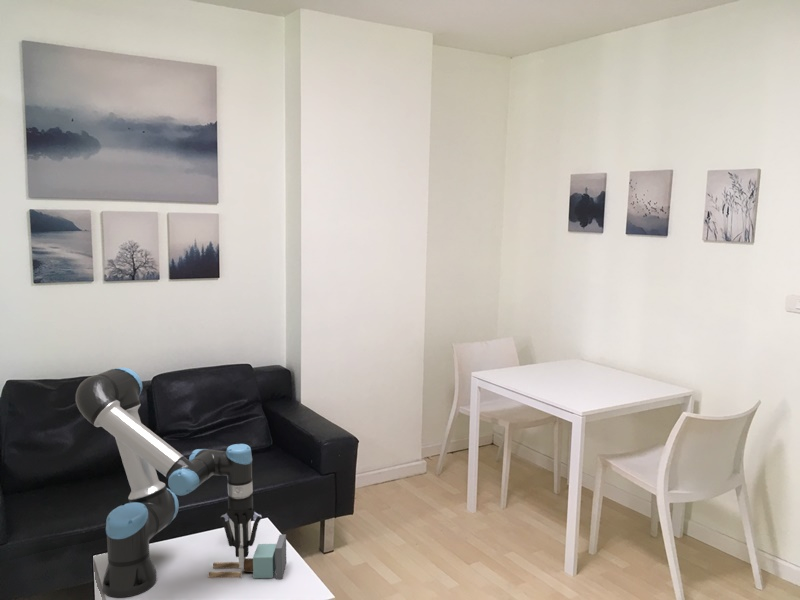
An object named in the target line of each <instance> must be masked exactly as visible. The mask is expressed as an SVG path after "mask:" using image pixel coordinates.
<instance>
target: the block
mask: <svg viewBox="0 0 800 600" xmlns="http://www.w3.org/2000/svg"><path fill="white" fill-rule="evenodd" d="M276 544H277V543H258V544H257V546H256V548H255V551H254V552H253V553H254V554H253V556H252V558H253V572H252V576H253V579H273V578H274V576H275V573H276V565H275V547H276Z"/></svg>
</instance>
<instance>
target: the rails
mask: <svg viewBox="0 0 800 600" xmlns="http://www.w3.org/2000/svg"><path fill="white" fill-rule="evenodd" d="M212 565H213V566H212V567H213V569H240V568H239V561H233V562H232V561H231V562H229V561H227V562H223V561H222V562H218V561H217V562H213V563H212ZM207 575H208V579H211V578H212V579H214V578H216V579H217V578H220V579H221V578H222V579H223V578H224V579H225V578H242V571H239V570H238V571H208V574H207Z"/></svg>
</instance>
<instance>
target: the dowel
mask: <svg viewBox="0 0 800 600" xmlns="http://www.w3.org/2000/svg"><path fill="white" fill-rule="evenodd" d="M243 572H244V573H253V557H251V558H247V557H246V558H245V561H244V568H243Z"/></svg>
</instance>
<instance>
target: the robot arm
mask: <svg viewBox="0 0 800 600" xmlns="http://www.w3.org/2000/svg"><path fill="white" fill-rule="evenodd" d="M142 391H143V381H142V379H141V377H140V376H139V374H137V373H136V372H135V371H134V370H132V369H130V368H128V367H117V368H112V369H109V370H106V371H104V372H100V373H98V374H96V375H92V376H89V377H87V378H85V379H84V380H83V381H82V382H80V384H79V385H78V387H77V389H76V392H75V403H76V407H77V409H78V410H79V412H80V414H81V415H82V416H83V418H85V419H86V420H87V422H89V423H90V424H92V425H93V427H96V428H100V427H101V428H102V429H104V430H105V431H107V432H108V433H109V434H110V435H111V436H113V437H114V438H115V442H116V445H117V449H118V451H119V455H120V457H121V461H122V465H123V468H124V471H125V474H126V477H127V480H128V484H129V486H130V490H131V491H130V493H129V495H128V503H125V504H124V505H122V504H121V505H119V506H116V508H114V509H112V510H111V511H110V512H109V513H108V515H107V517H106V521H105V522H106V523H105V524H106V525H105V534H106V544H107V545H106V546H107V547H106V548H107V549H106V550H107V562H108V563H107V566H106V570H105V573H104V576H103V580H102V589H103V590H102V591H103V593H104V594H105V595H107V596H109V597H111V598H112V597H113V598H127V597H132V596H137V595H139V594H142V593H145V592H146V591H148V590H149V589H151V588H152V587H153V586H154V585H155V584H156V582H157V579H158V578H157V569H156V567H155V565H154V563H153V561H152V558H151V556H150V540H151V539H153V537H155V536H156V535H157V534H158V533H160V532H161V531H163V529H165V528H167V527H168V526H169V525H170V524H171V523H172V521H174V519H176V517H177V515H178V513H179V509H180V508H179V506H180V505H179V500H178V496H186V495H188V494H190V493H191V492H194V491H195V490H196V489H197V488H198V487H200V485H202V484H203V483H205V482H206V481H207V480H208V479H210V478H211V477H212V476H223V477H224V476H225V477H226V478H227V494H228V496H227V504H228V505H227V507H228V509H227V511H226V513H225V514H224V513H223V514H222V515H221V516H220V518H219V521H220V522H221V524H222V525H223V528H224V532H225V535H226V539H227V542H228V545H229V546H228V547H234V549H235V550H234V551H235V557H236V558H238V562H239V568H238V569H244V561H245V558H247V557H248V555H249V552H250V551H249V547H253V545H254V543H255V539H256V535H257V531H258V526H259V522H260V521H261V519H262V517H263V514H262V513H257V512H256V510H255V508H254V495H253V491H254V490H253V489H254V487H253V484H254V483H253V456H252V449H251V446H249V445H248V444H245V443H236V444H234V443H233V444H230V445H229V446H228V447H227V448H226V450H216V449H208V448H198V449H197V448H196V449H194V450H193V451H191V454H190V455H189V457H188V458H187V457H186V456H184V455H183V454H181V453H180V452H179V451H178V450H176V449H175V448H174V447H173V446H171V445H170V444H169V443H167V442H166V441H165V440H164V439H162V437H160V436H159V435H157V434H156V433H155V432H153V431H152V430H151V429H150V428H148V427H147V426H146V425H144V424H143V423H142V421H141V417H140V415H139V409H140V407H141V400H140V398H139V397H140V396H141V394H142ZM157 471H158V472H157ZM157 473H160V474H162V475H163V476H164V477H165V478H166V479H168V481H167V485H168V487H167V486H166V483H165V482H163V481H160V479H159V476H158V474H157ZM229 518H230V519H231V520H232V521H233V523H234V531H235V540H234V536H233V533H232V530H231V526H230V519H229ZM252 518H253V525H252V527H251V537H250V540H249V537H248V522H249V520H250V519H251V520H252ZM240 524H242V527H243V544H240V543H241V542H240Z"/></svg>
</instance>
